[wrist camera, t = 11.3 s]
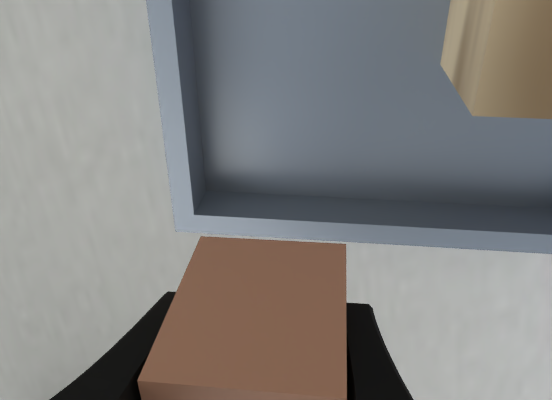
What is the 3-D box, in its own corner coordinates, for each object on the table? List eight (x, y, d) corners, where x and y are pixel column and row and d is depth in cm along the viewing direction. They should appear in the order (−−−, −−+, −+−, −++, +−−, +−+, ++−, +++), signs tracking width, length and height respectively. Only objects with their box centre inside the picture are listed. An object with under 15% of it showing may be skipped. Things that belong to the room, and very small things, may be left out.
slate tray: (726, -222, 13) (801, -248, 11) (577, 219, 20) (605, 257, 18) (150, -202, 15) (117, -221, 13) (192, 199, 22) (175, 231, 19)
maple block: (603, -70, 15) (711, -62, 10) (564, 68, 17) (641, 122, 12) (461, -71, 15) (508, -63, 11) (440, 64, 17) (472, 116, 13)
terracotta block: (346, 244, 14) (346, 398, 9) (339, 351, 16) (337, 520, 11) (200, 236, 14) (137, 380, 10) (212, 341, 16) (163, 499, 12)
